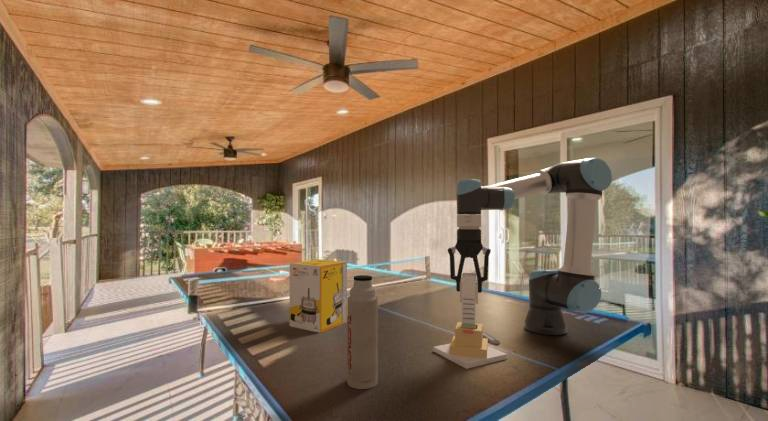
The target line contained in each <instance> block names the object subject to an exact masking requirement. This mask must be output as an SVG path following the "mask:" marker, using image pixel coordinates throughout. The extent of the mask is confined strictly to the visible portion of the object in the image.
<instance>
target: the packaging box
mask: <svg viewBox="0 0 768 421" xmlns="http://www.w3.org/2000/svg"><path fill="white" fill-rule="evenodd" d="M288 323H289V327H291V328H295V329H300V330H303V331H304V330H306V331H309V332H310V331H311V332H314V333H319V334H321V333H323V332H326V331H328V330H329V331H330V330H331V329H335V328H336V327H337V328H338V327H339V326H342V325H344V324H348V262H347V261H343V260H342V261H341V260H329V259H312V260H305V261H297V262H290V263H289V322H288Z"/></svg>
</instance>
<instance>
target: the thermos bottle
mask: <svg viewBox="0 0 768 421" xmlns="http://www.w3.org/2000/svg"><path fill="white" fill-rule="evenodd" d="M372 280H373V276H372V275H369V274H368V275H365V274H364V275H363V274H362V275H354V276H353V285H352V287H351V288H350V289H349V296H347V350H346V351H347V352H346V354H347V360H346V361H347V374H346V375H347V377H346V378H347V381H346V382H347V385H348V386H349V387H350V388H353V389H357V390H366V389H371V388H374V387H376V386H377V385H378V381H379V378H378V377H379V375H378V374H379V372H378V370H379V366H378V365H379V363H378V362H379V361H378V360H379V357H378V346H379V344H378V343H379V338H378V337H379V326H378V325H379V317H378V316H379V314H378V312H379V310H378V308H379V302H378V301H379V298H378V296H376V294H377V293H376V288H374V286H373V281H372Z"/></svg>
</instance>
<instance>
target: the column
mask: <svg viewBox="0 0 768 421" xmlns="http://www.w3.org/2000/svg"><path fill="white" fill-rule="evenodd" d="M461 281H462V303H461V312H462V313H461V319H462V320H461V322H462V328H467V329H476V323H477V304H475V282H476V281H477V275H476V272H462V276H461Z"/></svg>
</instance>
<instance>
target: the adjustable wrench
mask: <svg viewBox="0 0 768 421" xmlns="http://www.w3.org/2000/svg"><path fill="white" fill-rule="evenodd" d="M483 338H487V339H488V342H489V343H491V344H492V343H493V344H492V345H495V344H499V345H500V344H501V340H500V339H498V338H496V337H494V336H493V335H492V334H490V333H488V332H486V331H485V330H483Z"/></svg>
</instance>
